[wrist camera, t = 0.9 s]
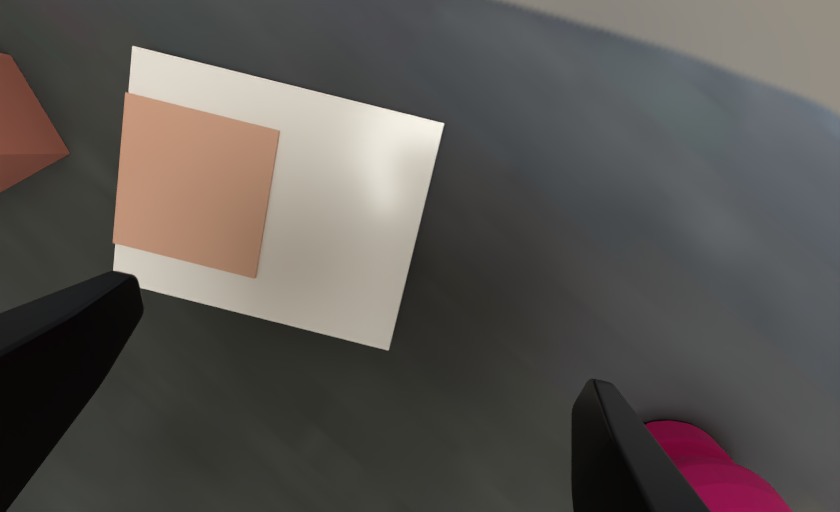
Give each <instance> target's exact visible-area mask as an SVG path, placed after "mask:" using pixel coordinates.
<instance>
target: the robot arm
mask: <svg viewBox="0 0 840 512" xmlns="http://www.w3.org/2000/svg"><path fill="white" fill-rule="evenodd" d="M143 312H144V302H143V298H142V294H141V290H140V285H139V281H138V279H137V277H136V276H135V275H133V274H129V273H124V272H120V271H110V272H107V273H104V274H102V275H99V276H97V277H94V278H91V279H89V280H86V281H84V282H81V283H78V284H76V285H73V286H70V287H68V288H65V289H63V290H60V291H57V292H55V293H52V294H50V295H47V296H44V297H42V298H39V299H37V300H34V301H31V302H29V303H26V304H23V305H21V306H18V307H16V308H13V309H10V310H8V311H5V312H3V313H0V512H6V511H7V509H8V508H9V507H10V505H11V504H12V503H13V501H14V500H15V499H16V497H17V496H18V495H19V493H20V492H21V491H22V489H23V488H24V487H25V485H26V484H27V483H28V481H29V480H30V479H31V477H32V476H33V475H34V473H35V472H36V471H37V469H38V468H39V467H40V465H41V464H42V463H43V461H44V460H45V459H46V457H47V456H48V455H49V453H50V452H51V451H52V449H53V448H54V447H55V445H56V444H57V443H58V441H59V440H60V439H61V437H62V436H63V435H64V433H65V432H66V431H67V429H68V428H69V427H70V425H71V424H72V423H73V421H74V420H75V419H76V417H77V416H78V415H79V413H80V412H81V411H82V409H83V408H84V407H85V405H86V404H87V403H88V401H89V400H90V399H91V397H92V396H93V395H94V393H95V392H96V391H97V389H98V388H99V386H100V385H101V384H102V382H103V380H104V379H105V377H106V376H107V374H108V373H109V371H110V369H111V368H112V366H113V364H114V363H115V361H116V359H117V358H118V356H119V354H120V353H121V351H122V349H123V348H124V346H125V344H126V343H127V341H128V339H129V338H130V336H131V334H132V333H133V331H134V329H135V328H136V326H137V324H138V323H139V321H140V319H141V317H142V315H143ZM571 479H572V500H573V510H574V512H711V511H710V509H709V508H708V507H707V505H706V504H705V503H704V502H703V500H702V499H701V498H700V496H699V495H698V494H697V492H696V491H695V490H694V489H693V487H692V486H691V485H690V483H689V482H688V481H687V479H686V478H685V477H684V476H683V474H682V473H681V472H680V470H679V469H678V468H677V466H676V465H675V464H674V463H673V461H672V460H671V459H670V457H669V456H668V455H667V453H666V452H665V451H664V450H663V448H662V447H661V446H660V444H659V443H658V442H657V440H656V439H655V438H654V436H653V435H652V434H651V433H650V431H649V430H648V429H647V427H646V426H645V425H644V423H643V422H642V421H641V420H640V418H639V417H638V416H637V414H636V413H635V412H634V410H633V409H632V408H631V407H630V405H629V404H628V403H627V401H626V400H625V399H624V397H623V396H622V395H621V394H620V392H619V391H618V390H617V388H616V387H615V386H614V385H613V384H612V383H610V382H606V381H602V380H597V379H590V380H589V381H588V382H587V383H586V384H585V386H584V388H583V389H582V391H581V393H580V395H579V396H578V398H577V400H576V401H575V403H574V405H573V409H572V470H571Z"/></svg>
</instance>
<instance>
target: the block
mask: <svg viewBox="0 0 840 512" xmlns="http://www.w3.org/2000/svg"><path fill="white" fill-rule="evenodd" d="M69 154H70V152H69V151H68V149H67V147H66V146H65V144H64V142H63V141H62V139H61V137H60V136H59V134H58V132H57V131H56V129H55V127H54V126H53V124H52V123H51V121H50V119H49V118H48V116H47V114H46V113H45V111H44V109H43V108H42V106H41V104H40V103H39V101H38V99H37V98H36V96H35V94H34V93H33V91H32V90H31V88H30V86H29V85H28V83H27V81H26V80H25V78H24V76H23V75H22V73H21V71H20V70H19V68H18V66H17V65H16V63H15V61H14V60H13V58H12V57H11V55H7V54H2V53H0V192H2V191H4V190H6V189H7V188H9V187H11V186H13V185H15V184H16V183H18V182H20V181H22V180H24V179H25V178H27V177H29V176H31V175H33V174H34V173H36V172H38V171H40V170H42V169H43V168H45V167H47V166H49V165H51V164H52V163H54V162H56V161H58V160H60V159H61V158H63V157H65V156H67V155H69Z"/></svg>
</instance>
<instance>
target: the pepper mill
mask: <svg viewBox="0 0 840 512" xmlns="http://www.w3.org/2000/svg"><path fill="white" fill-rule="evenodd" d="M644 425H645V426H646V427H647V429H648V430H649V431H650V433H651V434H652V435H653V436H654V438H655V439H656V440H657V442H658V443H659V444H660V446H661V447H662V448H663V450H664V451H665V452H666V453H667V455H668V456H669V457H670V459H671V460H672V461H673V463H674V464H675V465H676V466H677V468H678V469H679V470H680V472H681V473H682V474H683V476H684V477H685V478H686V479H687V481H688V482H689V483H690V485H691V486H692V487H693V489H694V490H695V491H696V492H697V494H698V495H699V496H700V498H701V499H702V500H703V502H704V503H705V504H706V505H707V507H708V508H709V509H710V511H711V512H792V510H791V509H790V508H789V506H788V505H787V504H786V503H785V501H784V500H783V499H782V497H781V496H780V495H779V494H778V493H777V492H776V490H775V489H774V488H773V487H772V486H771V485H770V484H769V483H768V482H766V481H765V480H764V479H762V478H761V477H760V476H759V475H757V474H755V473H754V472H752V471H750V470H749V469H747V468H744V467H742V466H740V465H738V464H735V463H734V462H733V460H732V459H731V458H730V457H729V456H728V455H727V453H726V452H725V451H724V450H723V449H722V448H721V447H720V446H719V445H718V444H717V442H716V441H715V440H714V439H713V438H712V437H711V436H710V435H709V434H707V433H706V432H704V431H703V430H701V429H699V428H697V427H696V426H693V425H690V424H688V423H683V422H677V421H654V422H650V423H647V424H644Z"/></svg>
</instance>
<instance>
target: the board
mask: <svg viewBox="0 0 840 512" xmlns="http://www.w3.org/2000/svg"><path fill="white" fill-rule="evenodd" d="M443 129H444V123H440V122H436V121H432V120H428V119H424V118H420V117H416V116H412V115H408V114H404V113H400V112H396V111H392V110H388V109H384V108H380V107H376V106H372V105H368V104H364V103H360V102H356V101H352V100H348V99H344V98H340V97H336V96H332V95H328V94H324V93H320V92H316V91H312V90H308V89H304V88H300V87H296V86H292V85H288V84H284V83H280V82H276V81H272V80H268V79H264V78H260V77H256V76H252V75H248V74H244V73H240V72H236V71H232V70H228V69H224V68H220V67H216V66H212V65H208V64H204V63H200V62H195V61H191V60H187V59H183V58H179V57H175V56H171V55H167V54H163V53H159V52H155V51H151V50H147V49H143V48H139V47H135V46H132V57H131V69H130V80H129V92H128V93H126V92H125V103H124V115H123V126H122V138H121V150H120V162H119V174H118V186H117V198H116V210H115V221H114V233H113V243H115V255H114V267H113V271H120V272H124V273H129V274H133V275H135V276H136V277H137V279H138V281H139V285H140V288H143V289H147V290H151V291H155V292H159V293H163V294H167V295H171V296H175V297H179V298H183V299H187V300H191V301H194V302H198V303H202V304H206V305H210V306H214V307H218V308H222V309H226V310H230V311H234V312H238V313H242V314H246V315H250V316H254V317H258V318H262V319H266V320H270V321H273V322H277V323H281V324H285V325H289V326H293V327H297V328H301V329H305V330H309V331H313V332H317V333H321V334H325V335H329V336H333V337H337V338H341V339H345V340H349V341H352V342H356V343H360V344H364V345H368V346H372V347H376V348H380V349H384V350H388V351H389V347H390V344H391V341H392V337H393V333H394V329H395V325H396V320H397V316H398V312H399V308H400V304H401V300H402V296H403V292H404V288H405V284H406V280H407V276H408V272H409V267H410V263H411V259H412V255H413V251H414V247H415V243H416V239H417V235H418V231H419V227H420V223H421V219H422V214H423V210H424V206H425V202H426V198H427V194H428V190H429V186H430V182H431V178H432V174H433V170H434V166H435V161H436V157H437V153H438V149H439V145H440V141H441V137H442V133H443Z"/></svg>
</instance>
